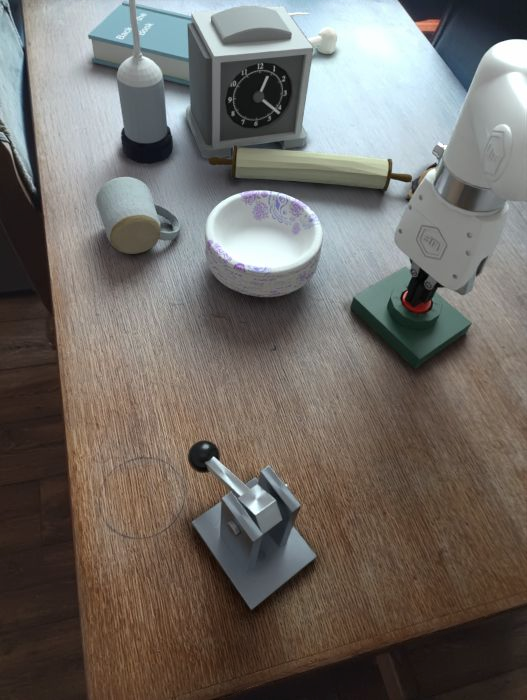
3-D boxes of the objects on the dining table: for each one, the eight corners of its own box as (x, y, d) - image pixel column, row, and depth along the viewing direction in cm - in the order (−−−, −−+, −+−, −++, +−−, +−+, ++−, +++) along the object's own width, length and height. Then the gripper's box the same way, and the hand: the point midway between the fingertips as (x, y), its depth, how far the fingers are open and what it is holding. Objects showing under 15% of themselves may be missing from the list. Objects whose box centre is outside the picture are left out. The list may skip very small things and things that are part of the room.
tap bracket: (191, 525, 55) (186, 481, 45) (254, 480, 58) (263, 431, 48) (250, 612, 51) (259, 584, 41) (315, 559, 54) (337, 522, 44)
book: (92, 62, 103) (88, 34, 99) (129, 25, 112) (126, -1, 108) (205, 89, 101) (204, 62, 97) (233, 49, 110) (233, 23, 106)
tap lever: (188, 469, 55) (178, 446, 54) (214, 452, 56) (204, 429, 55) (258, 542, 45) (248, 515, 44) (288, 519, 46) (279, 493, 45)
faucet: (328, 75, 116) (349, 26, 109) (264, 65, 105) (283, 9, 99) (317, 66, 118) (337, 17, 111) (253, 55, 107) (271, 0, 100)
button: (432, 311, 70) (437, 302, 69) (413, 323, 69) (417, 315, 67) (412, 293, 72) (416, 285, 70) (393, 305, 70) (397, 296, 69)
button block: (465, 333, 72) (477, 314, 69) (414, 369, 68) (424, 351, 65) (401, 277, 77) (409, 256, 74) (349, 307, 73) (356, 287, 70)
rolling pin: (405, 180, 90) (414, 154, 86) (409, 202, 86) (418, 176, 82) (210, 162, 88) (210, 134, 84) (207, 184, 85) (206, 156, 81)
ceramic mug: (113, 263, 74) (105, 220, 68) (100, 223, 78) (91, 179, 72) (188, 247, 77) (187, 204, 71) (171, 210, 81) (169, 166, 75)
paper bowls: (195, 303, 71) (193, 260, 65) (216, 225, 80) (217, 180, 74) (309, 321, 71) (319, 280, 64) (319, 241, 80) (328, 197, 73)
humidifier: (172, 133, 92) (160, -37, 72) (173, 163, 88) (161, -9, 67) (123, 133, 91) (97, -39, 71) (121, 164, 86) (93, -11, 66)
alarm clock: (203, 159, 89) (201, 43, 74) (184, 114, 96) (179, 0, 81) (308, 145, 93) (326, 33, 78) (282, 102, 100) (294, -8, 85)
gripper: (394, 152, 56) (355, 274, 71) (510, 239, 49) (440, 352, 64) (442, 130, 59) (395, 252, 74) (557, 209, 52) (480, 324, 67)
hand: (416, 298), depth 69 cm, fingers closed
